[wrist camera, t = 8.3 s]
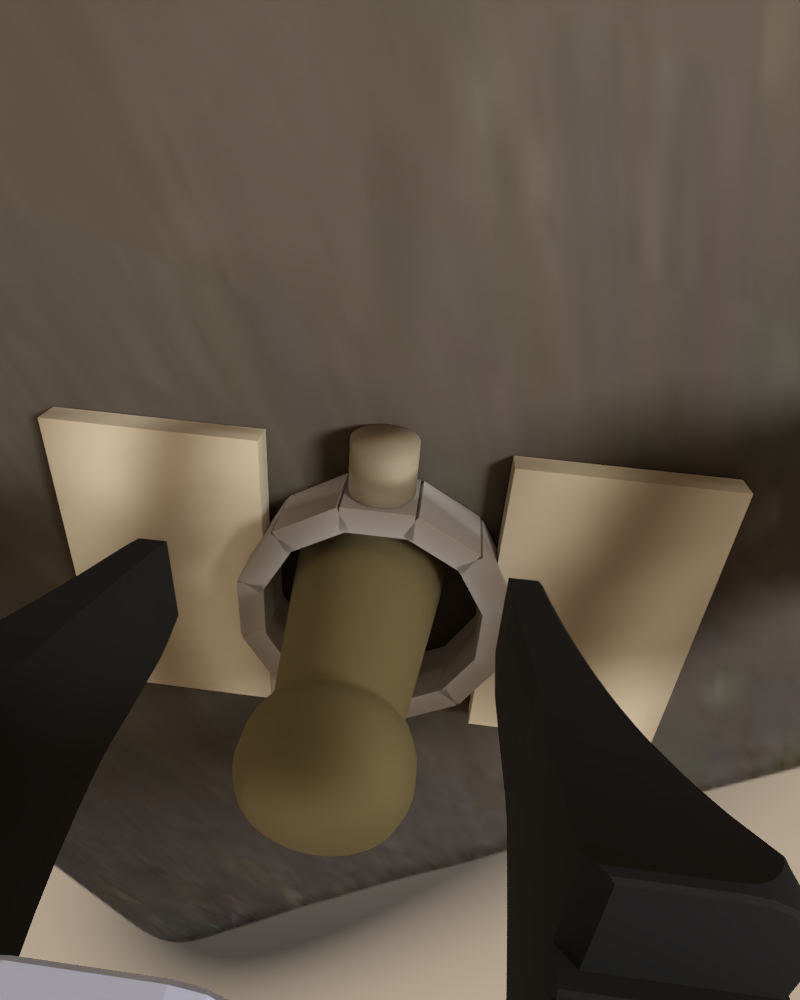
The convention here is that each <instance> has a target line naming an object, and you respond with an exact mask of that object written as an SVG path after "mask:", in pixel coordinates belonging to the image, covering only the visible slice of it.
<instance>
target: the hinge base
mask: <svg viewBox="0 0 800 1000" xmlns="http://www.w3.org/2000/svg"><path fill="white" fill-rule="evenodd" d="M38 422H39V426H40V430H41V434H42V438H43V442H44V446H45V450H46V454H47V458H48V462H49V466H50V471H51V475H52V479H53V483H54V487H55V491H56V495H57V499H58V503H59V507H60V511H61V515H62V519H63V523H64V528H65V532H66V536H67V540H68V544H69V548H70V552H71V556H72V560H73V564H74V568H75V572H76V576H77V575H79V574H81V573H82V572H84V571H86V570H87V569H89V568H90V567H92V566H94V565H95V564H97V563H98V562H100V561H102V560H103V559H105V558H106V557H108V556H110V555H111V554H113V553H114V552H116V551H118V550H119V549H121V548H123V547H124V546H126V545H128V544H129V543H131V542H133V541H135V540H137V539H138V538H142V539H151V540H161V541H167V546H168V552H169V558H170V565H171V571H172V577H173V583H174V589H175V596H176V602H177V608H178V614H179V616H178V618H177V621H176V623H175V626H174V628H173V631H172V633H171V636H170V638H169V641H168V643H167V645H166V647H165V650H164V652H163V654H162V657H161V658H160V660H159V662H158V664H157V665H156V667H155V669H154V671H153V672H152V674H151V676H150V677H149V679H148V681H147V682H149V683H157V684H165V685H173V686H180V687H188V688H196V689H204V690H212V691H219V692H227V693H235V694H243V695H251V696H259V697H266V698H267V697H268V696H269V695H270V694H272V693H273V692H274V689H275V683H276V678H277V672H278V667H279V661H280V655H281V650H282V644H283V638H284V633H285V627H286V622H287V616H288V610H289V605H290V603H289V602H288V600H287V599H286V598H285V596H284V595H283V593H282V572H281V565H282V564H283V562H284V561H285V560H286V558H287V557H288V556H289V554H290V553H291V552H292V551H295V550H298V549H300V548H303V547H306V546H309V545H311V544H314V543H317V542H320V541H322V540H325V539H328V538H331V537H333V536H336V535H339V534H342V533H344V532H345V533H354V534H363V535H372V536H380V537H389V538H398V539H407V540H409V541H411V542H412V543H414V544H415V545H417V546H419V547H420V548H422V549H424V550H425V551H427V552H428V553H430V554H432V555H433V556H435V557H437V558H438V559H440V560H441V561H443V562H445V563H446V564H448V565H450V566H451V567H453V568H454V569H456V570H458V571H459V572H460V574H461V576H462V578H463V580H464V582H465V584H466V586H467V587H468V589H469V591H470V593H471V595H472V597H473V599H474V600H475V602H476V604H477V608H476V614H475V617H474V618H473V619H472V620H471V621H470V622H469V623H468V624H467V625H465V626H464V627H463V628H462V629H461V630H460V631H459V632H458V633H457V634H456V635H455V636H454V637H453V638H452V639H451V640H450V641H449V642H448V643H447V644H446V645H445V646H443V647H440V648H436V649H433V650H429V651H426V652H425V653H424V656H423V660H422V663H421V667H420V670H419V674H418V677H417V681H416V685H415V688H414V692H413V695H412V699H411V702H410V706H409V709H408V713H407V717H406V718H409V717H413V716H417V715H421V714H425V713H429V712H433V711H436V710H440V709H444V708H448V707H452V706H456V703H458V704H460V703H461V702H462V701H463V700H464V699H465V698H466V697H467V696H469V695H470V694H471V697H470V703H469V723H470V724H477V725H485V726H493V727H498V723H497V713H496V703H495V650H496V645H497V639H498V634H499V628H500V623H501V617H502V612H503V606H504V601H505V595H506V590H507V584H508V579H509V578H516V579H525V580H535V581H539V582H540V583H541V584H542V586H543V587H544V589H545V591H546V593H547V595H548V597H549V599H550V601H551V603H552V605H553V607H554V609H555V611H556V612H557V614H558V616H559V618H560V620H561V621H562V623H563V625H564V627H565V628H566V630H567V632H568V633H569V635H570V637H571V638H572V640H573V641H574V643H575V645H576V646H577V648H578V649H579V651H580V652H581V654H582V656H583V657H584V659H585V660H586V662H587V663H588V665H589V666H590V668H591V669H592V671H593V672H594V673H595V675H596V676H597V678H598V679H599V680H600V682H601V683H602V684H603V686H604V687H605V689H606V690H607V691H608V693H609V694H610V695H611V696H612V698H613V699H614V700H615V702H616V703H617V704H618V705H619V707H620V708H621V709H622V710H623V712H624V713H625V714H626V715H627V716H628V717H629V719H630V720H631V721H632V722H633V723H634V724H635V726H636V727H637V728H638V729H639V730H640V731H641V732H642V733H643V735H644V736H645V737H646V738H647V739H648V740H649V741H650V742H652V739H653V737H654V735H655V732H656V730H657V727H658V725H659V722H660V720H661V718H662V715H663V713H664V710H665V708H666V705H667V703H668V701H669V698H670V696H671V693H672V691H673V688H674V686H675V684H676V681H677V679H678V676H679V674H680V671H681V669H682V666H683V664H684V662H685V659H686V657H687V654H688V652H689V649H690V647H691V645H692V642H693V640H694V637H695V635H696V632H697V630H698V628H699V625H700V623H701V620H702V618H703V615H704V613H705V611H706V608H707V606H708V603H709V601H710V598H711V596H712V594H713V591H714V589H715V586H716V584H717V581H718V579H719V577H720V574H721V572H722V569H723V567H724V564H725V562H726V559H727V557H728V555H729V552H730V550H731V547H732V545H733V542H734V540H735V538H736V535H737V533H738V530H739V528H740V525H741V523H742V521H743V518H744V516H745V513H746V511H747V508H748V506H749V504H750V501H751V499H752V496H753V493H752V492H751V490H750V489H749V487H748V486H747V485H746V483H745V482H744V481H743V480H741V479H731V478H722V477H712V476H703V475H693V474H684V473H674V472H665V471H656V470H646V469H637V468H627V467H618V466H608V465H599V464H589V463H580V462H571V461H561V460H552V459H542V458H533V457H523V456H513V462H512V468H511V473H510V479H509V484H508V490H507V496H506V501H505V507H504V512H503V518H502V524H501V529H500V535H499V540H498V546H497V548H496V546H495V544H494V542H493V540H492V538H491V536H490V534H489V532H488V530H487V528H486V526H485V524H484V522H483V520H480V517H479V516H478V515H476V514H475V513H473V512H472V511H470V510H468V509H467V508H465V507H464V506H462V505H461V504H459V503H458V502H456V501H454V500H453V499H451V498H450V497H448V496H447V495H445V494H444V493H442V492H441V491H439V490H437V489H436V488H434V487H433V486H431V485H430V484H428V483H427V482H425V481H424V482H423V483H422V484H421V480H417V477H418V467H419V456H420V445H421V440H420V437H419V436H418V435H417V434H416V433H415V432H413V431H411V430H409V429H407V428H404V427H401V426H396V425H390V424H373V425H367V426H363V427H360V428H358V429H356V430H354V431H353V432H352V433H351V435H350V450H349V473H346V474H344V475H341V476H339V477H336V478H334V479H331V480H329V481H326V482H324V483H321V484H319V485H316V486H314V487H311V488H309V489H306V490H304V491H301V492H298V493H296V494H293V495H291V496H289V498H287V499H286V500H285V502H284V503H283V505H282V506H281V508H280V509H279V511H278V512H277V513H276V515H275V516H274V518H273V519H272V521H271V522H270V515H269V493H268V471H267V449H266V429H259V428H249V427H240V426H230V425H221V424H212V423H202V422H193V421H183V420H174V419H164V418H155V417H145V416H136V415H127V414H117V413H108V412H98V411H89V410H79V409H70V408H60V407H52V408H51V409H49V410H48V411H46V412H45V413H43V414H42V415H41V416H39V417H38ZM420 485H421V486H420Z"/></svg>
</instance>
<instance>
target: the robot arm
mask: <svg viewBox="0 0 800 1000" xmlns="http://www.w3.org/2000/svg"><path fill="white" fill-rule="evenodd" d="M178 616H179V614H178V608H177V602H176V596H175V589H174V583H173V577H172V571H171V565H170V558H169V552H168V546H167V541H161V540H151V539H142V538H138V539H137V540H135V541H133V542H131V543H129V544H128V545H126V546H124V547H123V548H121V549H119V550H118V551H116V552H114V553H113V554H111V555H110V556H108V557H106V558H105V559H103V560H102V561H100V562H98V563H97V564H95V565H94V566H92V567H90V568H89V569H87V570H86V571H84V572H82V573H81V574H79V575H77V576H76V577H74V578H73V579H71V580H69V581H68V582H66V583H64V584H63V585H61V586H60V587H58V588H56V589H55V590H53V591H51V592H50V593H48V594H46V595H44V596H42V597H41V598H39V599H37V600H35V601H34V602H32V603H30V604H28V605H26V606H25V607H23V608H21V609H19V610H18V611H16V612H14V613H12V614H11V615H9V616H7V617H5V618H3V619H1V620H0V1000H227V999H225V998H223V997H221V996H220V995H218V994H216V993H214V992H212V991H211V990H209V989H207V988H203V987H199V986H196V985H192V984H188V983H184V982H181V981H177V980H173V979H167V978H160V977H154V976H147V975H140V974H133V973H126V972H120V971H113V970H106V969H99V968H92V967H86V966H79V965H72V964H66V963H59V962H51V961H45V960H39V959H32V958H24V957H19V955H20V952H21V949H22V946H23V944H24V941H25V938H26V936H27V933H28V930H29V927H30V925H31V922H32V919H33V916H34V914H35V911H36V909H37V906H38V904H39V901H40V899H41V896H42V894H43V891H44V889H45V886H46V884H47V881H48V879H49V876H50V874H51V871H52V868H53V866H54V864H55V861H56V859H57V856H58V854H59V852H60V849H61V847H62V845H63V842H64V840H65V838H66V836H67V833H68V831H69V829H70V826H71V824H72V822H73V819H74V817H75V815H76V812H77V810H78V808H79V806H80V804H81V801H82V799H83V797H84V795H85V793H86V791H87V789H88V786H89V784H90V782H91V780H92V778H93V776H94V773H95V771H96V769H97V767H98V765H99V763H100V761H101V760H102V758H103V756H104V754H105V752H106V750H107V748H108V747H109V745H110V743H111V741H112V740H113V738H114V736H115V735H116V733H117V731H118V730H119V728H120V726H121V725H122V723H123V721H124V720H125V718H126V716H127V715H128V713H129V711H130V710H131V708H132V706H133V705H134V703H135V701H136V699H137V698H138V696H139V694H140V693H141V691H142V689H143V688H144V686H145V684H146V683H147V681H148V679H149V677H150V676H151V674H152V672H153V671H154V669H155V667H156V665H157V664H158V662H159V660H160V658H161V657H162V654H163V652H164V650H165V647H166V645H167V643H168V641H169V638H170V636H171V633H172V631H173V628H174V626H175V623H176V621H177V618H178ZM495 703H496V713H497V723H498V732H499V742H500V751H501V760H502V770H503V779H504V789H505V799H506V814H507V998H506V1000H790V998H789V995H790V993H791V992H792V991H793V990H794V988H795V987H796V986H797V984H798V983H799V982H800V885H799V883H798V882H797V880H796V878H795V876H794V874H793V872H792V871H791V869H790V867H789V865H788V863H787V861H786V859H785V857H784V856H783V855H781V854H780V853H779V852H777V851H776V850H775V849H773V848H772V847H771V846H769V845H768V844H767V843H765V842H764V841H763V840H762V839H760V838H759V837H758V836H756V835H755V834H754V833H752V832H751V831H750V830H748V829H747V828H746V827H744V826H743V825H742V824H741V823H739V822H738V821H737V820H735V819H734V818H733V817H731V816H730V815H729V814H728V813H726V812H725V811H724V810H723V809H722V808H720V807H719V806H718V805H717V804H716V803H715V802H714V801H712V800H711V799H710V798H709V797H708V796H707V795H706V794H704V793H703V792H702V791H701V790H700V789H699V788H697V787H696V786H695V785H694V784H693V783H692V782H691V781H690V780H689V779H688V778H686V777H685V776H684V775H683V774H682V773H681V772H680V771H679V770H678V769H677V768H676V767H675V766H674V765H673V764H672V763H671V762H670V761H669V760H668V759H667V758H666V757H665V756H664V755H663V754H662V753H661V752H660V751H659V750H658V749H657V748H656V747H655V746H654V745H653V744H652V743H651V742H650V741H649V740H648V739H647V738H646V737H645V736H644V735H643V733H642V732H641V731H640V730H639V729H638V728H637V727H636V726H635V724H634V723H633V722H632V721H631V720H630V719H629V717H628V716H627V715H626V714H625V713H624V712H623V710H622V709H621V708H620V707H619V705H618V704H617V703H616V702H615V700H614V699H613V698H612V696H611V695H610V694H609V693H608V691H607V690H606V689H605V687H604V686H603V684H602V683H601V682H600V680H599V679H598V678H597V676H596V675H595V673H594V672H593V671H592V669H591V668H590V666H589V665H588V663H587V662H586V660H585V659H584V657H583V656H582V654H581V652H580V651H579V649H578V648H577V646H576V645H575V643H574V641H573V640H572V638H571V637H570V635H569V633H568V632H567V630H566V628H565V627H564V625H563V623H562V621H561V620H560V618H559V616H558V614H557V612H556V611H555V609H554V607H553V605H552V603H551V601H550V599H549V597H548V595H547V593H546V591H545V589H544V587H543V586H542V584H541V583H540V582H539V581H535V580H525V579H516V578H509V579H508V584H507V590H506V595H505V601H504V606H503V612H502V617H501V623H500V628H499V634H498V639H497V645H496V650H495Z"/></svg>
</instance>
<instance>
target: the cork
mask: <svg viewBox="0 0 800 1000" xmlns="http://www.w3.org/2000/svg"><path fill="white" fill-rule="evenodd" d="M444 574H445V568H444V564H443V561H441V560H440V559H438V558H437V557H435V556H433V555H432V554H430V553H428V552H427V551H425V550H424V549H422V548H420V547H419V546H417V545H415V544H414V543H412V542H411V541H409V540H407V539H398V538H389V537H380V536H372V535H363V534H354V533H345V532H344V533H342V534H339V535H336V536H333V537H331V538H328V539H325V540H322V541H320V542H317V543H314V544H311V545H309V546H306V547H303V548H300V551H299V554H298V560H297V565H296V571H295V577H294V582H293V588H292V593H291V599H290V605H289V610H288V616H287V622H286V627H285V633H284V638H283V644H282V650H281V655H280V661H279V667H278V672H277V678H276V683H275V689H274V692H273V693H272V694H270V695H269V696H268V697H267V698H266V699H265V700H264V701H263V702H261V703H260V704H259V705H258V706H257V708H256V709H255V710H254V712H253V713H252V714H251V716H250V717H249V718H248V720H247V722H246V725H245V727H244V730H243V732H242V734H241V737H240V739H239V742H238V744H237V747H236V749H235V752H234V756H233V767H232V776H233V786H234V792H235V795H236V799H237V803H238V806H239V807H240V809H241V811H242V813H243V814H244V816H245V818H246V819H247V821H248V822H249V823H250V824H252V825H253V826H254V827H255V828H256V829H257V830H258V831H259V832H260V833H262V834H263V835H264V836H266V837H267V838H269V839H271V840H273V841H275V842H276V843H278V844H280V845H282V846H284V847H286V848H289V849H292V850H295V851H298V852H301V853H304V854H311V855H318V856H345V855H351V854H355V853H359V852H363V851H366V850H370V849H372V848H374V847H375V846H377V845H379V844H380V843H382V842H384V841H385V840H387V839H388V837H389V836H390V835H391V834H392V833H393V832H394V830H395V829H396V828H397V827H398V825H399V824H400V823H401V821H402V820H403V818H404V817H405V816H406V814H407V813H408V810H409V807H410V805H411V802H412V799H413V796H414V789H415V782H416V771H417V756H416V751H415V746H414V741H413V738H412V735H411V733H410V730H409V727H408V724H407V723H406V722H405V720H406V717H407V713H408V709H409V706H410V702H411V699H412V695H413V692H414V688H415V685H416V681H417V677H418V674H419V670H420V667H421V663H422V660H423V656H424V653H425V649H426V646H427V642H428V638H429V635H430V631H431V628H432V624H433V621H434V617H435V614H436V610H437V606H438V603H439V599H440V596H441V592H442V589H443V582H444Z"/></svg>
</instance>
